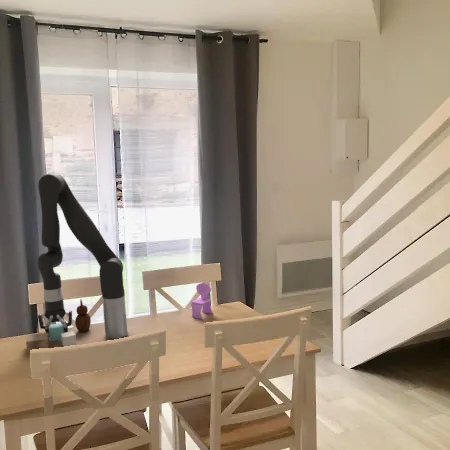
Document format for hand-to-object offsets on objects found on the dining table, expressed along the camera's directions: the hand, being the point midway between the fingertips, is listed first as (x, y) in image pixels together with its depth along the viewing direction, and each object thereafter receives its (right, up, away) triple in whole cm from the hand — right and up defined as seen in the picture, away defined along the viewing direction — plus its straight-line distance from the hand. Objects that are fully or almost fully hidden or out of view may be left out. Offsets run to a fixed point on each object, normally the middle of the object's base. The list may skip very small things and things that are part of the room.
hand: (57, 336), depth 222 cm
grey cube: (+8, -2, -8) cm, 11 cm away
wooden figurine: (+9, +1, +8) cm, 12 cm away
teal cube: (0, -1, 0) cm, 1 cm away
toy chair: (+61, +5, +22) cm, 65 cm away
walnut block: (-4, -3, -10) cm, 11 cm away
